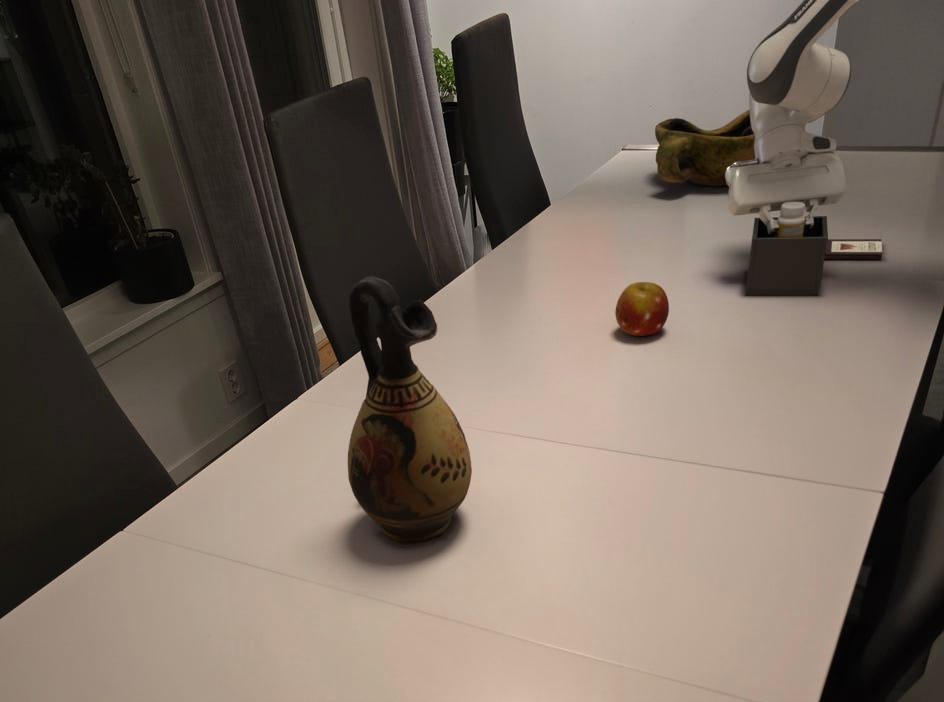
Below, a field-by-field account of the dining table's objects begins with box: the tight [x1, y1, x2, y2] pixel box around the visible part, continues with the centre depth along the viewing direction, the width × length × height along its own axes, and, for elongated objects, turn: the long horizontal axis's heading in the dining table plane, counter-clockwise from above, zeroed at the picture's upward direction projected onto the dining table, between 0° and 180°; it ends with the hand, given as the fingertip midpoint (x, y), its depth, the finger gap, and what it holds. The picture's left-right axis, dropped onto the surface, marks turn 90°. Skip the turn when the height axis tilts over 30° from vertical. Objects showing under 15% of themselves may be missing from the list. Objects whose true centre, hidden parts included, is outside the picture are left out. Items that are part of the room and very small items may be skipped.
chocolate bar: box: [824, 238, 883, 260], centre depth 166 cm, size 9×1×18 cm
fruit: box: [614, 281, 670, 337], centre depth 144 cm, size 10×9×8 cm
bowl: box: [654, 109, 755, 187], centre depth 209 cm, size 39×29×15 cm
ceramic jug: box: [347, 275, 473, 545], centre depth 99 cm, size 17×15×30 cm
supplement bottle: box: [775, 202, 806, 238], centre depth 151 cm, size 5×5×8 cm
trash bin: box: [745, 215, 829, 296], centre depth 154 cm, size 13×13×10 cm
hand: (791, 229), depth 150 cm, fingers closed on supplement bottle, 5 cm apart
